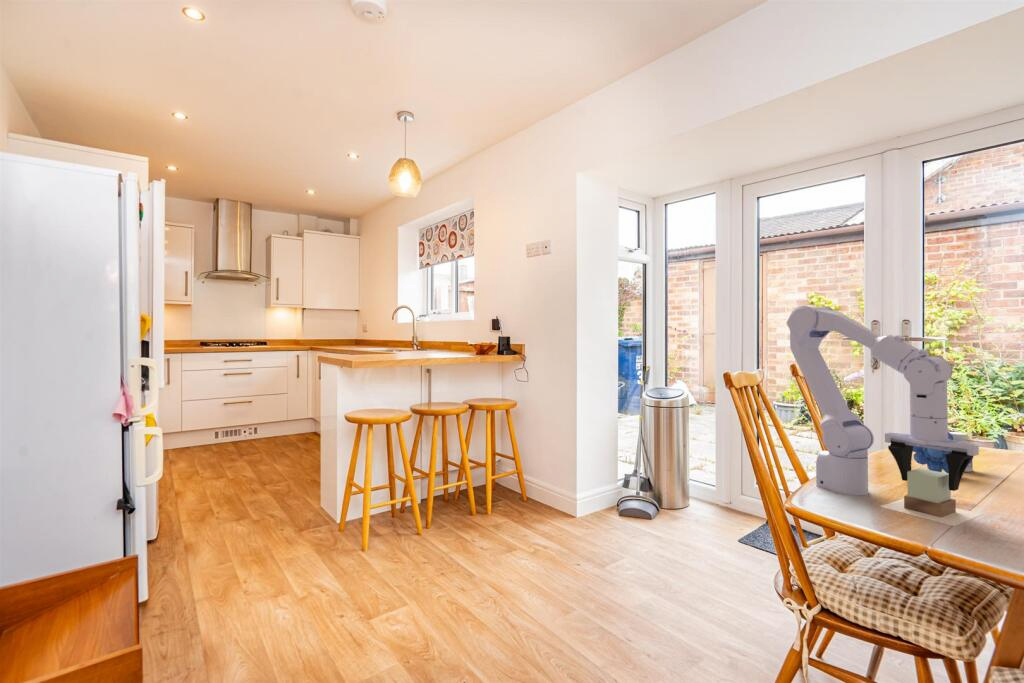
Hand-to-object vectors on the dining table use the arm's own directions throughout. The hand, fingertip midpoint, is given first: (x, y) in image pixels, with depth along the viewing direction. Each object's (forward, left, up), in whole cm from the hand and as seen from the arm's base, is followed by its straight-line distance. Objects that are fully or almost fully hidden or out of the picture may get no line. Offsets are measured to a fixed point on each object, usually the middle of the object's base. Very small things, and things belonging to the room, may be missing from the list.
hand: (929, 484), depth 97 cm
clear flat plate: (0, 0, -6) cm, 6 cm away
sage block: (0, 0, -3) cm, 3 cm away
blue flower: (-13, +36, -6) cm, 39 cm away
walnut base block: (0, 0, -5) cm, 5 cm away
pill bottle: (-12, +46, -6) cm, 48 cm away
